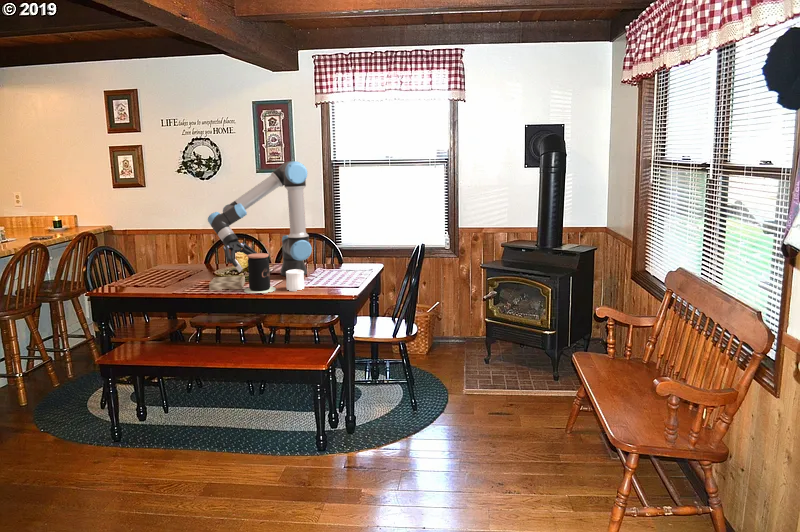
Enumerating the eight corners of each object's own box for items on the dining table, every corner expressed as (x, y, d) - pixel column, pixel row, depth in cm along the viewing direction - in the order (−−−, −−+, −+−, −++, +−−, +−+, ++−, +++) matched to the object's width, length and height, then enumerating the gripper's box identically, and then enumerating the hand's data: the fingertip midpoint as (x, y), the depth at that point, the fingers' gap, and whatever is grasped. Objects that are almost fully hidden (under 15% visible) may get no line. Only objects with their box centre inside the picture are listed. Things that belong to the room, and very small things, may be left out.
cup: (288, 292, 333) (287, 273, 331) (283, 288, 342) (283, 270, 340) (307, 290, 336) (306, 271, 335) (301, 286, 345) (301, 268, 344)
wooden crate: (245, 282, 358) (244, 276, 357) (241, 288, 342) (241, 282, 341) (214, 283, 356) (213, 277, 355) (209, 290, 340) (209, 283, 339)
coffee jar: (265, 291, 331) (263, 256, 328) (245, 291, 334) (243, 256, 330) (273, 287, 342) (272, 253, 338) (254, 286, 344) (252, 252, 341)
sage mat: (276, 286, 346) (276, 285, 346) (274, 293, 331) (274, 292, 331) (245, 287, 344) (245, 286, 344) (242, 294, 329) (242, 293, 329)
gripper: (242, 239, 356) (264, 269, 351) (206, 245, 335) (229, 277, 330) (249, 230, 352) (271, 260, 347) (213, 235, 331) (236, 267, 326)
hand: (250, 268), depth 338 cm, fingers open, 13 cm apart
